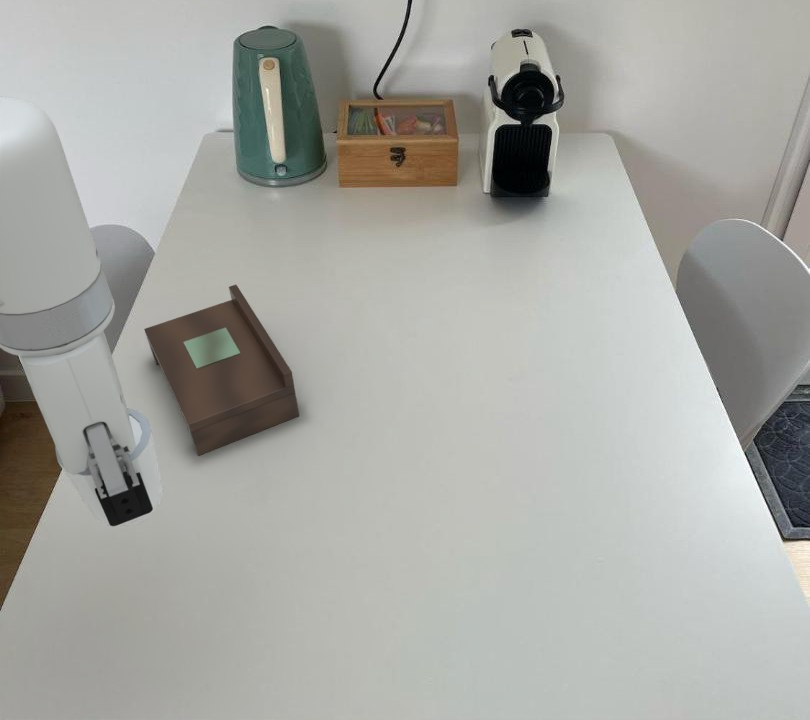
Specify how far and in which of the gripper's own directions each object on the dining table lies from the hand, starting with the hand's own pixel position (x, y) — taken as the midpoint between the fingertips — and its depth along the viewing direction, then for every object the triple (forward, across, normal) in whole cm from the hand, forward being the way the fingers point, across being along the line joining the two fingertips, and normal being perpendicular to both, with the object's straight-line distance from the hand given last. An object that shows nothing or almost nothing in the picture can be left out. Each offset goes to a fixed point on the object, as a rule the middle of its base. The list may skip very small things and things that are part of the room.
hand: (119, 480), depth 63 cm
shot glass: (+2, 0, 0) cm, 2 cm away
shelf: (+18, -26, +14) cm, 34 cm away
